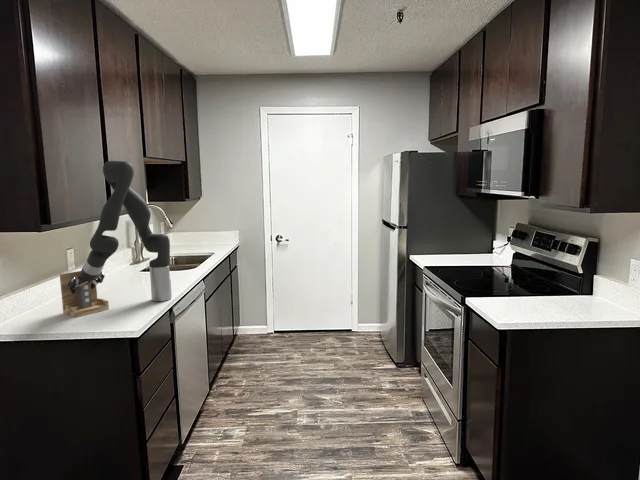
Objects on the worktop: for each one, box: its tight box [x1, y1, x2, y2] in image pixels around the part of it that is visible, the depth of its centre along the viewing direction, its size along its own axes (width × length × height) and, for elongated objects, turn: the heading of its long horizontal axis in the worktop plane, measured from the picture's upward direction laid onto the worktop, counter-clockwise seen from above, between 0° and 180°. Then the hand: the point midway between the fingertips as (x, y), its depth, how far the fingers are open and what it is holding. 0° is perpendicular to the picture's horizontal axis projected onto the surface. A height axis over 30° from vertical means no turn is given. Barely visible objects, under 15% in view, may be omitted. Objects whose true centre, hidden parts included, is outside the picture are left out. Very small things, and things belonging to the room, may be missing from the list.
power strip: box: [76, 281, 92, 309], centre depth 192 cm, size 5×4×13 cm
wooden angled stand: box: [59, 270, 110, 318], centre depth 191 cm, size 11×15×18 cm
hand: (82, 289), depth 192 cm, fingers open, 8 cm apart
